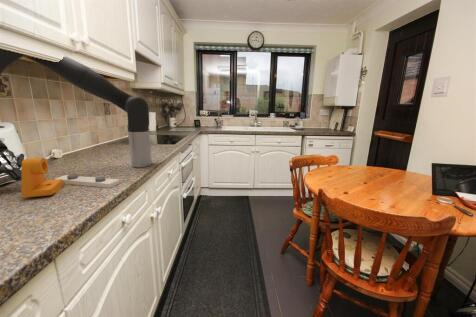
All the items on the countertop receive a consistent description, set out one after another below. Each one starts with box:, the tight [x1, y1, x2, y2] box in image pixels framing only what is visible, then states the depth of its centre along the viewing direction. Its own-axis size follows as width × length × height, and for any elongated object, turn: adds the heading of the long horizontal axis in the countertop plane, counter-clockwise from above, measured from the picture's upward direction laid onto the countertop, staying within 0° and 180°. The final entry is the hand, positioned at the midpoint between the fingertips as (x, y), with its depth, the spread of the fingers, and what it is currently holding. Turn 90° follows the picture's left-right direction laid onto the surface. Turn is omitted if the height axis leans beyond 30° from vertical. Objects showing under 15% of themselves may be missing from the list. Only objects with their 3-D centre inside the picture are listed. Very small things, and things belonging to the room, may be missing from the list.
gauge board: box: [52, 174, 121, 189], centre depth 81 cm, size 5×24×2 cm, turn 81°
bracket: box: [20, 157, 64, 199], centre depth 71 cm, size 11×7×12 cm, turn 22°
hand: (21, 179), depth 73 cm, fingers closed
